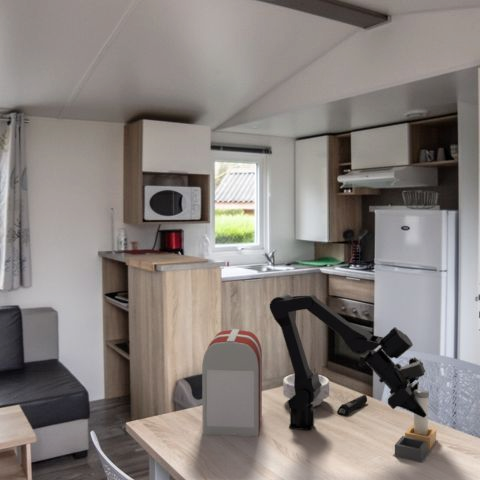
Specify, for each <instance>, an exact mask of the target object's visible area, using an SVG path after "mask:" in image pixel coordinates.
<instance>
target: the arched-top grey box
mask: <svg viewBox="0 0 480 480" xmlns="http://www.w3.org/2000/svg"><path fill="white" fill-rule="evenodd" d="M204 352H205V353H204V354H203V358H202V364H201V367H202V368H201V371H202V372H201V375H202V376H201V377H202V379H201V382H202V383H201V385H202V387H201V388H202V391H201V392H202V393H201V395H202V396H201V397H202V434H203V435H212V436H213V435H217V436H218V435H219V436H242V437H243V436H245V437H246V436H249V437H258V436H259V434H260V428H261V426H262V416H263V415H262V413H263V408H262V407H263V405H262V404H263V403H262V402H263V401H262V400H263V398H262V397H263V395H262V393H263V391H262V389H263V387H262V386H263V385H262V384H263V383H262V382H263V381H262V379H263V378H262V376H263V375H262V374H263V371H262V370H263V364H262V362H263V361H262V360H263V359H262V357H263V355H262V354H263V352H262V346H261V343H260V340H259V338H258V337H257V336H256V334H255V333H253V332H252V331H247V330H241V329H239V328H233V329H230V330H229V329H228V330H222V331H220V332H218V333H217V334H216V335H215V336H214V337H213V339H212V340H211V341H210V342H209V344H208V346H207V349H206V351H204Z"/></svg>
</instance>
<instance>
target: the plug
mask: <svg viewBox="0 0 480 480" xmlns="http://www.w3.org/2000/svg"><path fill="white" fill-rule="evenodd" d="M429 396H430V392H429V390H426V389H420V388H418V390H415V398H416V400H417V401H418V403H419V404H420V405H421V407H422V408H423V410H424V411H425V413H426V417H424V418H423V417H421V416H419V415H417V414H415V413H413V425H414V434H419V435H423V436H428V428H429Z"/></svg>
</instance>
